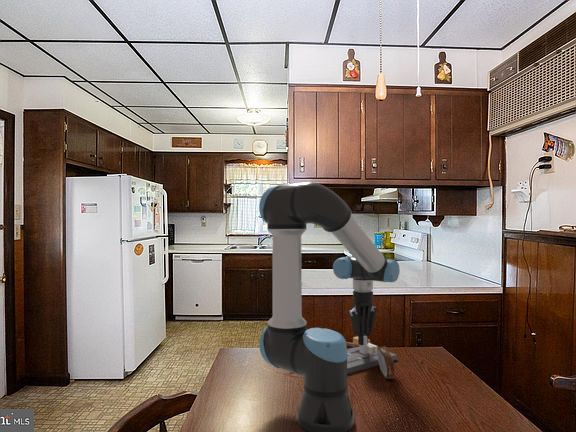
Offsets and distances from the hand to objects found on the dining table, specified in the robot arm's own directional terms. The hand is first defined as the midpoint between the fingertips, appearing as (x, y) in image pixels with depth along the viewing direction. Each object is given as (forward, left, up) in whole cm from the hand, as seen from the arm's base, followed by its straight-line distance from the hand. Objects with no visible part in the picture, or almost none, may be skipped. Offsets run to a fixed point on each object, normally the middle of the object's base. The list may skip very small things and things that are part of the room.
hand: (363, 352), depth 142 cm
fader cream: (+2, 0, -2) cm, 3 cm away
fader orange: (+6, +7, -2) cm, 9 cm away
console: (-1, +3, -4) cm, 6 cm away
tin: (0, -11, -4) cm, 12 cm away
